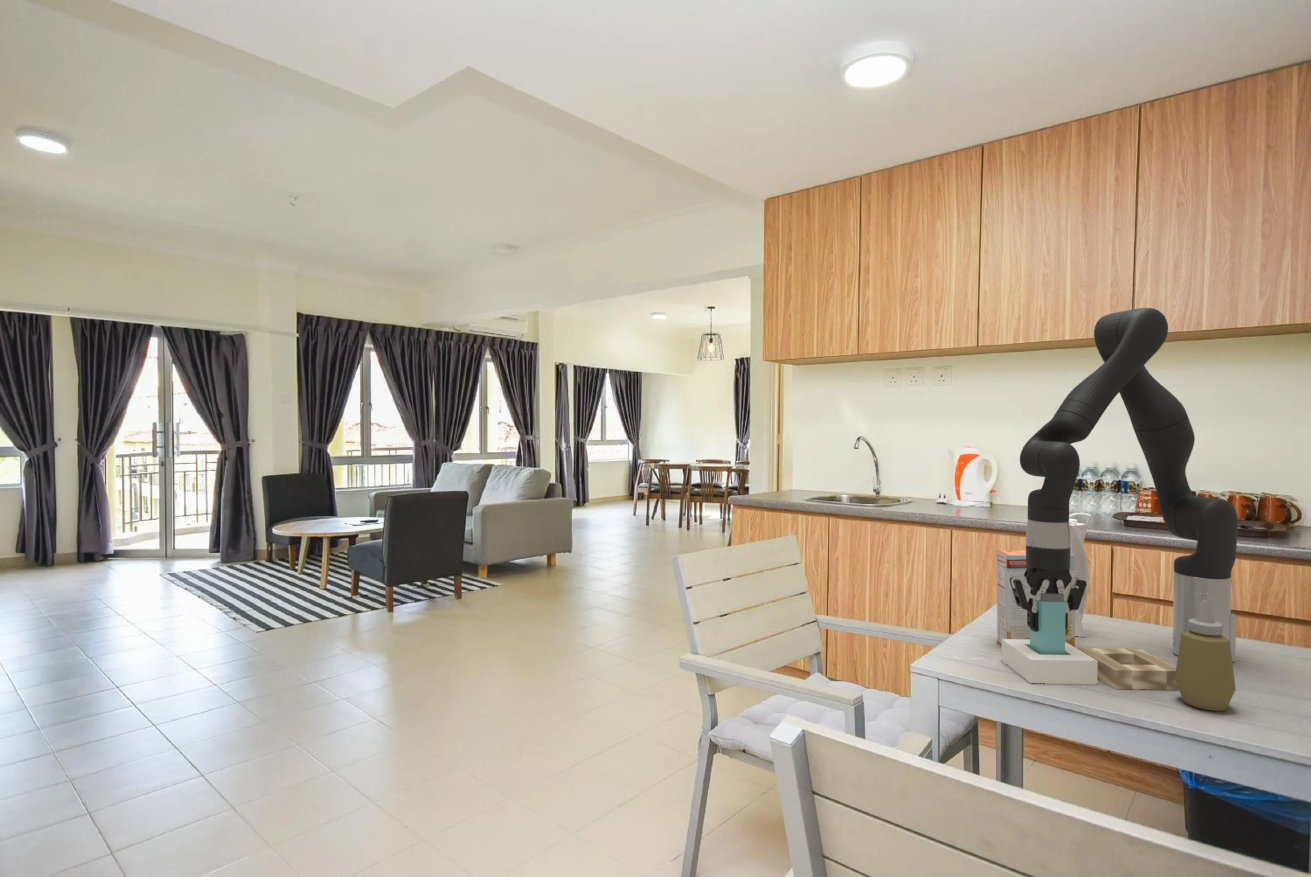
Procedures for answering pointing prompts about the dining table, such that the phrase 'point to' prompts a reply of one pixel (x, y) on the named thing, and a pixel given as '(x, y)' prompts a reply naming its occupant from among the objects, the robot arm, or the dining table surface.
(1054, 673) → the port block
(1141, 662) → the wooden square frame
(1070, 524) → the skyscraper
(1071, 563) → the cracker box
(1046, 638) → the plug
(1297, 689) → the dining table surface
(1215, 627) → the squeeze bottle
